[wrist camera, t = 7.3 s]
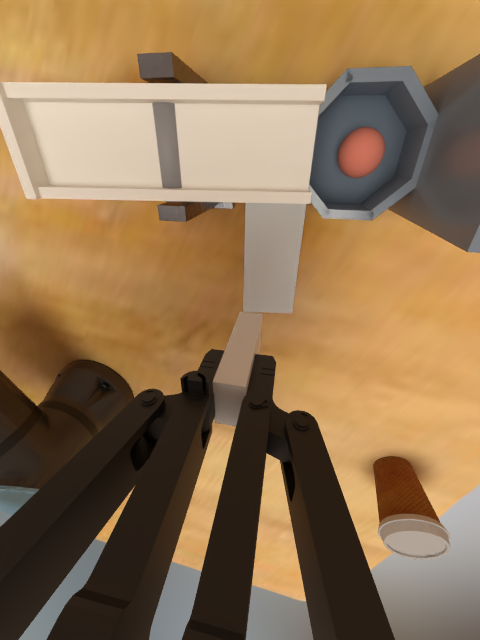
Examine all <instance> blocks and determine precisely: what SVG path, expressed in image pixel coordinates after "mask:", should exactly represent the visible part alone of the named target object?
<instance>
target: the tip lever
mask: <svg viewBox="0 0 480 640" xmlns="http://www.w3.org/2000/svg"><path fill="white" fill-rule="evenodd" d="M326 85H327V84H187V83H47V82H0V127H1V130H2V133H3V135H4V138H5V141H6V144H7V146H8V149H9V152H10V155H11V157H12V160H13V163H14V166H15V168H16V171H17V174H18V177H19V179H20V182H21V185H22V187H23V190H24V193H25V196H26V198H27V199H40V198H49V199H96V200H143V201H166V202H183V201H190V202H238V203H246V206H245V250H244V294H243V312H268V313H292V310H293V303H294V295H295V287H296V280H297V272H298V265H299V257H300V249H301V242H302V234H303V227H304V219H305V211H306V204H310V201H311V194H312V192H310V191H308V189H309V181H310V173H311V166H312V158H313V151H314V143H315V135H316V128H317V120H318V113H319V105H320V104H321V103H322V102H323V101H324V100H325V93H326Z"/></svg>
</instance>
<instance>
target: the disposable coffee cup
mask: <svg viewBox="0 0 480 640" xmlns="http://www.w3.org/2000/svg"><path fill="white" fill-rule="evenodd" d="M374 474H375V484H376V493H377V502H378V512H379V521H380V524H379V528H378V534H379V536H380V538H381V539H382V540H383V543H384V545H385V547H386V548H387V549H388V550H390V551H391V552H393V553H395V554H397V555H400V556H404V557H408V558H413V559H433V558H438V557H441V556H444V555H445V554H446V553H448V552H449V550H450V543H449V540H450V535H449V533H448V531H447V530H446V529H445V528H444V527H443V525H442V524H441V523H440V521H439V519H438V517H437V515H436V513H435V511H434V509H433V507H432V505H431V503H430V501H429V500H428V497H427V496H426V493H425V492H424V490H423V488H422V486H421V484H420V482H419V480H418V478H417V476H416V474H415V472H414V470H413V468H412V466H411V464H410V463H409V462H408V461H407V460H405V459H402V458H399V457H384V458H381V459H379V460H377V461H376V462H375V464H374Z"/></svg>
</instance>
